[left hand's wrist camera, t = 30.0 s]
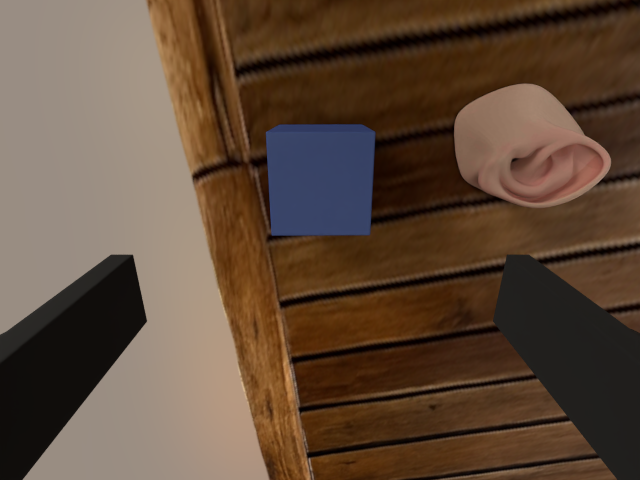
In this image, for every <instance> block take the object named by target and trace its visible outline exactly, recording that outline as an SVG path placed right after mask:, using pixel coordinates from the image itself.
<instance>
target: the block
mask: <svg viewBox="0 0 640 480" xmlns="http://www.w3.org/2000/svg"><path fill="white" fill-rule="evenodd" d="M266 141H267V159H268V177H269V195H270V213H271V230H272V235H370V227H371V208H372V189H373V170H374V151H375V131H373V130H371V129H369V128H367V127H365V126H364V125H362V124H335V125H278V126H276V127H275V128H273V129H271V130H269V131H267V132H266Z"/></svg>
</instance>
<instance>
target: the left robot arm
mask: <svg viewBox="0 0 640 480" xmlns="http://www.w3.org/2000/svg"><path fill="white" fill-rule="evenodd" d="M146 322H147V319H146V314H145V310H144V305H143V300H142V295H141V291H140V286H139V281H138V276H137V272H136V267H135V262H134V258H133V255H110V256H109V257H107V258H106V259H105V260H103V261H102V262H101V263H99V264H98V265H96V266H95V267H94V268H92V269H91V270H90V271H88V272H87V273H86V274H84V275H83V276H82V277H80V278H79V279H77V280H76V281H75V282H73V283H72V284H71V285H69V286H68V287H67V288H65V289H64V290H62V291H61V292H60V293H58V294H57V295H56V296H54V297H53V298H52V299H50V300H49V301H47V302H46V303H45V304H43V305H42V306H41V307H39V308H38V309H37V310H35V311H34V312H33V313H31V314H30V315H29V316H27V317H26V318H24V319H23V320H22V321H20V322H19V323H18V324H16V325H15V326H14V327H12V328H11V329H9V330H8V331H7V332H5V333H3V334H1V335H0V480H23V478H24V477H25V476H26V475H27V473H28V472H29V471H30V469H31V468H32V467H33V466H34V464H35V463H36V462H37V461H38V459H39V458H40V457H41V455H42V454H43V453H44V452H45V450H46V449H47V448H48V447H49V445H50V444H51V443H52V441H53V440H54V439H55V438H56V436H57V435H58V434H59V433H60V431H61V430H62V429H63V427H64V426H65V425H66V424H67V422H68V421H69V420H70V419H71V417H72V416H73V415H74V413H75V412H76V411H77V410H78V408H79V407H80V406H81V405H82V403H83V402H84V401H85V400H86V398H87V397H88V396H89V394H90V393H91V392H92V391H93V389H94V388H95V387H96V385H97V384H98V383H99V382H100V380H101V379H102V378H103V377H104V375H105V374H106V373H107V371H108V370H109V369H110V368H111V366H112V365H113V364H114V363H115V361H116V360H117V359H118V358H119V356H120V355H121V354H122V352H123V351H124V350H125V349H126V347H127V346H128V345H129V344H130V342H131V341H132V340H133V338H134V337H135V336H136V335H137V333H138V332H139V331H140V330H141V328H142V327H143V326H144V324H145V323H146ZM493 322H494V323H495V324H496V326H497V327H498V328H499V330H500V331H501V332H502V333H503V335H504V336H505V337H506V338H507V340H508V341H509V342H510V344H511V345H512V346H513V347H514V349H515V350H516V351H517V352H518V354H519V355H520V356H521V358H522V359H523V360H524V361H525V363H526V364H527V365H528V366H529V368H530V369H531V370H532V372H533V373H534V374H535V375H536V377H537V378H538V379H539V380H540V382H541V383H542V384H543V386H544V387H545V388H546V389H547V391H548V392H549V393H550V394H551V396H552V397H553V398H554V400H555V401H556V402H557V403H558V405H559V406H560V407H561V408H562V410H563V411H564V412H565V414H566V415H567V416H568V417H569V419H570V420H571V421H572V422H573V424H574V425H575V426H576V427H577V429H578V430H579V431H580V433H581V434H582V435H583V436H584V438H585V439H586V440H587V441H588V443H589V444H590V445H591V447H592V448H593V449H594V450H595V452H596V453H597V454H598V455H599V457H600V458H601V459H602V461H603V462H604V463H605V464H606V466H607V467H608V468H609V469H610V471H611V472H612V473H613V475H614V476H615V477H616V478H617V480H640V333H638V332H636V331H634V330H632V329H629V328H628V327H627V326H625V325H624V324H622V323H621V322H620V321H618V320H617V319H616V318H614V317H613V316H612V315H610V314H609V313H607V312H606V311H605V310H603V309H602V308H601V307H599V306H598V305H597V304H595V303H594V302H593V301H591V300H590V299H588V298H587V297H586V296H584V295H583V294H582V293H580V292H579V291H578V290H576V289H575V288H573V287H572V286H571V285H569V284H568V283H567V282H565V281H564V280H563V279H561V278H560V277H559V276H557V275H556V274H554V273H553V272H552V271H550V270H549V269H548V268H546V267H545V266H544V265H542V264H541V263H539V262H538V261H537V260H535V259H534V258H533V257H531V256H530V255H507V258H506V262H505V267H504V272H503V276H502V281H501V286H500V291H499V295H498V300H497V305H496V310H495V314H494V319H493Z"/></svg>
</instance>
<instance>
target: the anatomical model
mask: <svg viewBox="0 0 640 480" xmlns="http://www.w3.org/2000/svg"><path fill="white" fill-rule="evenodd" d="M454 139H455V152H456V158H457V162H458V166H459V170H460V173H461V175H462V177H463V178H464V179H465V180H466V181H467V182H468V183H469V184H471V185H473V186H475V187H477V188H479V189H481V190H483V191H484V192H486V193H488V194H490V195H493V196H496V197H499V198H501V199H504V200H506V201H509V202H511V203H514V204H517V205H520V206H524V207H529V208H545V207H551V206H555V205H559V204H562V203H565V202H568V201H570V200H573V199H575V198H577V197H579V196H580V195H582V194H584V193H585V192H587V191H588V190H589V189H591V188H592V187H593V186H595V185H596V184H597V183H598V182H599V181H600V180H601V179H602V178H603V177H604V176H605V175H606V174H607V172H608V171H609V169H610V166H611V159H610V156H609V154H608V153H607V151H606V150H605V149H604V148H603V147H602V146H600V145H599V144H598V143H597V142H595V141H593V140H592V139H590V138H588V137H586V136H585V135H584V133H583V132H582V130H581V129H580V127H579V125H578V124H577V123H576V121H575V120H574V119H573V117H572V116H571V115H570V114H569V112H568V111H567V110H566V109H565V108H564V106H563V105H562V104H561V103H560V102H559V101H558V100H557V99H556V98H555V97H554V96H553V95H552V94H551V93H549V92H548V91H547V90H545V89H544V88H542V87H540V86H537V85H533V84H517V85H512V86H508V87H505V88H501V89H498V90H496V91H493V92H491V93H489V94H486V95H484V96H482V97H480V98H478V99H476V100H475V101H473V102H471V103H470V104H468V105H467V106H465V107H464V108H463V109H462V110H461V111H460V112H459V114H458V115H457V117H456V120H455V126H454Z"/></svg>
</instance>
